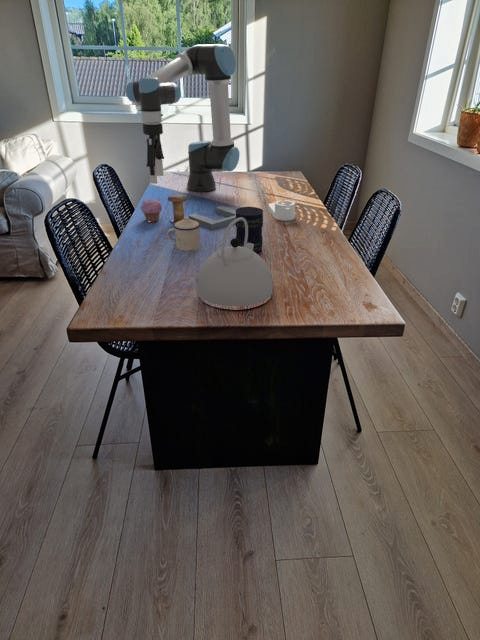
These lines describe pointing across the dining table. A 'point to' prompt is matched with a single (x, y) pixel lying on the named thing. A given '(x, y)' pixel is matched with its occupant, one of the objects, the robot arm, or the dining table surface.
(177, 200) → the bobbin
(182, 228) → the teacup with lid
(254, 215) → the storage jar
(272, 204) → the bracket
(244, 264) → the kettle
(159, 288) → the dining table surface
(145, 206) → the cupcake
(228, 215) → the notched board
